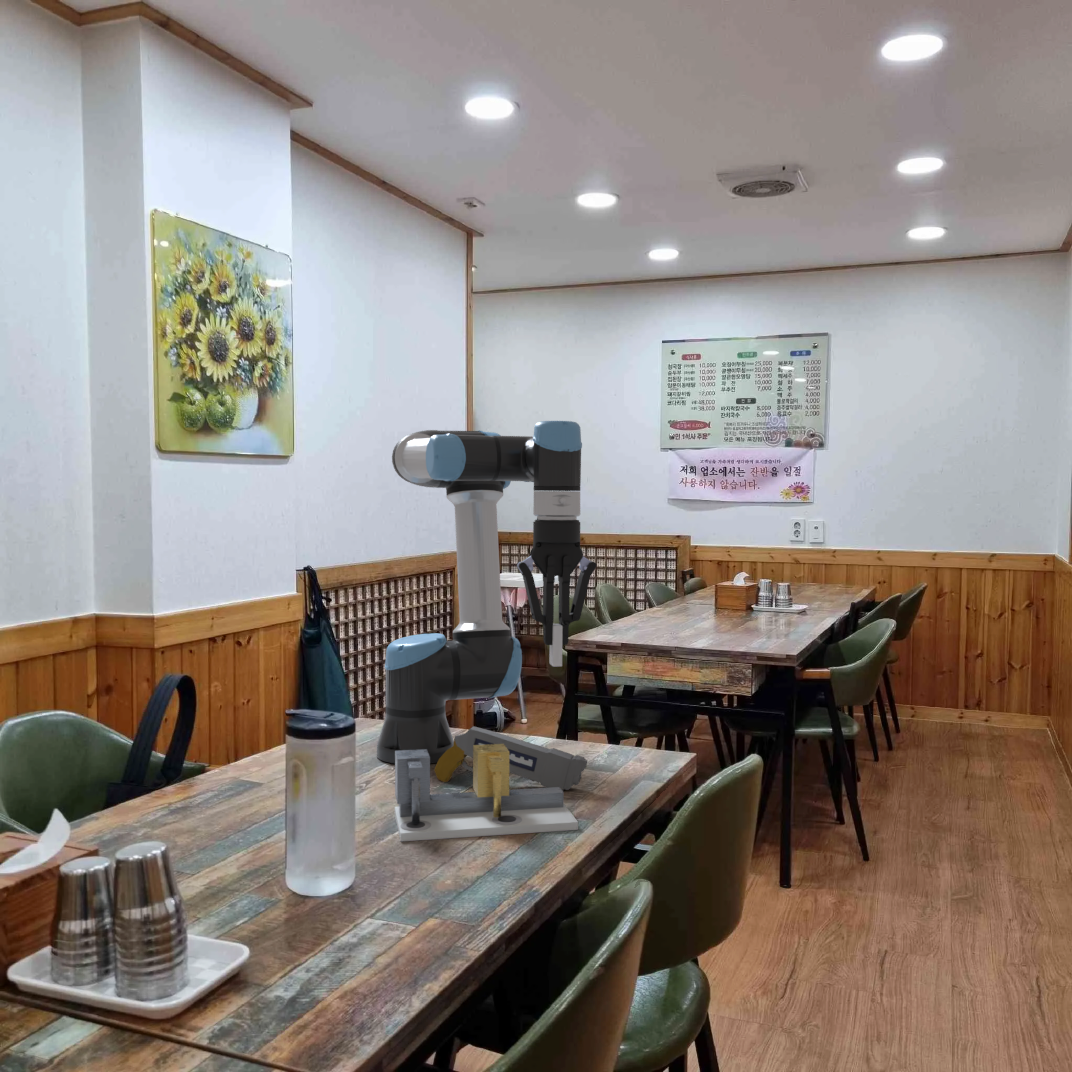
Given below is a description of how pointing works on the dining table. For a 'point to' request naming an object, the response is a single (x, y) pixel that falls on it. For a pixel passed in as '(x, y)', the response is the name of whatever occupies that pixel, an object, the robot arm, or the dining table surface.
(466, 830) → the bolt plate
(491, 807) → the grey sliding rail fixture
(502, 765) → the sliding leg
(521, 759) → the gun
